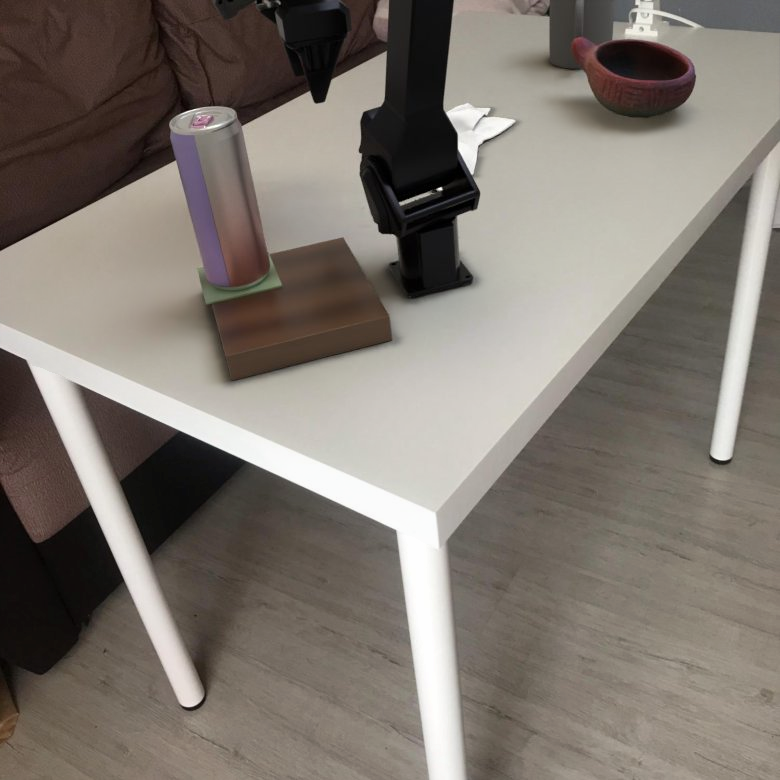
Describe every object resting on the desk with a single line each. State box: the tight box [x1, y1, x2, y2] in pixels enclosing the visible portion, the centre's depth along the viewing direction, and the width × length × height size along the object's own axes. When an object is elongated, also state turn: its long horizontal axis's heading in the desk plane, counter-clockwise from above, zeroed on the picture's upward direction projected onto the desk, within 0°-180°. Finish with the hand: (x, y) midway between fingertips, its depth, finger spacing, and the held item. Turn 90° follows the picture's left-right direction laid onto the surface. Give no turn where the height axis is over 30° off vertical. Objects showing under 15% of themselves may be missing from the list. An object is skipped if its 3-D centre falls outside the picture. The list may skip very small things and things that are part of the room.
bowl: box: [571, 37, 697, 119], centre depth 108 cm, size 16×13×8 cm
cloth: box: [435, 102, 516, 192], centre depth 107 cm, size 26×14×2 cm, turn 155°
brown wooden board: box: [196, 236, 393, 381], centre depth 78 cm, size 16×14×3 cm
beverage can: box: [168, 105, 270, 291], centre depth 76 cm, size 6×6×15 cm
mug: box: [548, 0, 616, 70], centre depth 124 cm, size 14×9×12 cm
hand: (309, 88), depth 89 cm, fingers open, 9 cm apart
